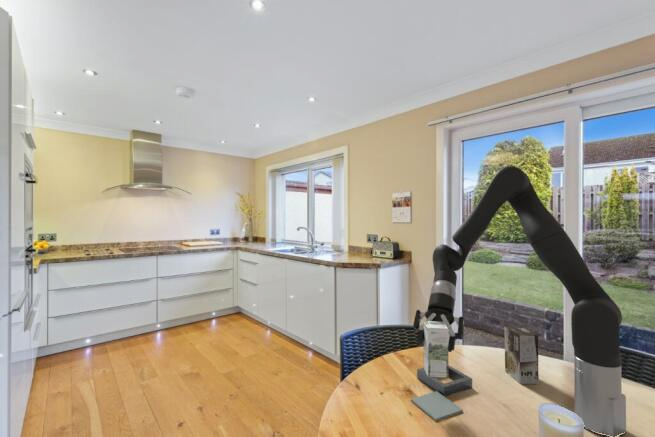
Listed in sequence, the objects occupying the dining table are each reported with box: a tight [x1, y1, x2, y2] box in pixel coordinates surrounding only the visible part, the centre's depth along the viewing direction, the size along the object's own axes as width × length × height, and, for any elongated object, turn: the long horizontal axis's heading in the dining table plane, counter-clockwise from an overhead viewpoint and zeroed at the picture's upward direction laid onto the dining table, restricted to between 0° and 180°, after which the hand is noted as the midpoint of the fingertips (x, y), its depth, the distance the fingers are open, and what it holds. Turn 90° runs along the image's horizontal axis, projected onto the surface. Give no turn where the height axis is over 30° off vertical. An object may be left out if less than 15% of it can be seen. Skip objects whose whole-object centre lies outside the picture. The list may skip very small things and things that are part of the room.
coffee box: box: [503, 325, 540, 385], centre depth 103 cm, size 9×6×16 cm
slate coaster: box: [410, 390, 464, 422], centre depth 87 cm, size 10×10×1 cm
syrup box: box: [423, 320, 450, 379], centre depth 87 cm, size 6×6×14 cm
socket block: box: [416, 364, 473, 398], centre depth 99 cm, size 12×12×3 cm
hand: (434, 347), depth 86 cm, fingers closed on syrup box, 7 cm apart
